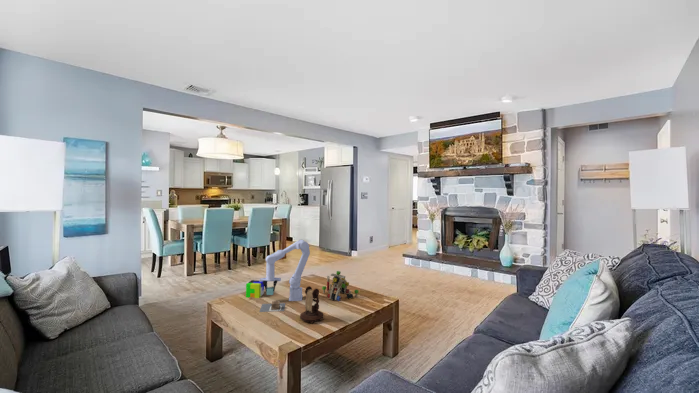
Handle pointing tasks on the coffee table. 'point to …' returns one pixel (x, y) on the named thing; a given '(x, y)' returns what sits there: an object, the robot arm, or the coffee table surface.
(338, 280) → the toy construction set
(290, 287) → the robot arm
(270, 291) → the teal block
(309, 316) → the wooden figurine on stand
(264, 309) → the grey flat plate
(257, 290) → the puzzle toy
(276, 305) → the walnut block
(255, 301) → the coffee table surface
